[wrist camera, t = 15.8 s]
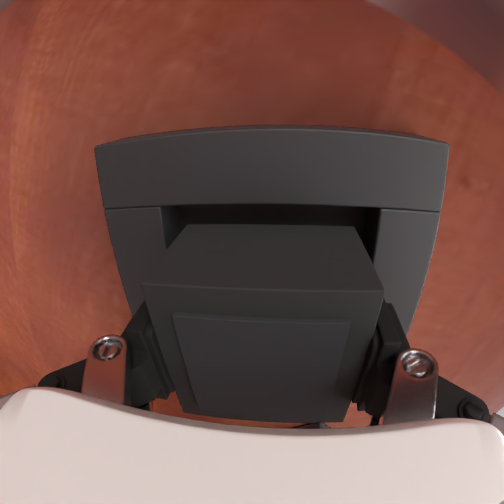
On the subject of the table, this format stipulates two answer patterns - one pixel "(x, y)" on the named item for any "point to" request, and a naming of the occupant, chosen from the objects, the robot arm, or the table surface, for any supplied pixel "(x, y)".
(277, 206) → the docking pad
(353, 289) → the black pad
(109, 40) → the table surface
